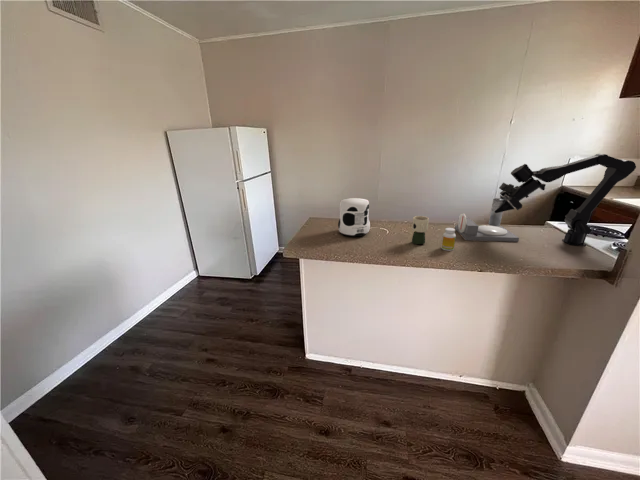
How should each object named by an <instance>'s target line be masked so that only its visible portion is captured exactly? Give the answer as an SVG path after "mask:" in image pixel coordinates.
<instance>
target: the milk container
mask: <svg viewBox="0 0 640 480" xmlns="http://www.w3.org/2000/svg"><path fill="white" fill-rule="evenodd" d="M369 212H370V201H369V200H368V199H366V198H359V197H351V198H350V197H349V198H344V199H341V200H340V202H339V219H338V222H337V227H338V228H337V229H338V232H339V233H341V234H342V235H344V236H348V237H360V236H361V237H362V236H365V235H367V234H368V233H369V231H370V229H371V223H370V216H369V215H370V213H369Z"/></svg>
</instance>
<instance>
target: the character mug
mask: <svg viewBox="0 0 640 480" xmlns="http://www.w3.org/2000/svg"><path fill="white" fill-rule="evenodd" d="M429 221H430V218H429V217H427V216H423V215H415V216H413V217H412V225H411V230H412V231H414V232H413V234H412V237H411V243H412V244H414V245H423V244H426V232H427V231H428V228H429Z"/></svg>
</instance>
